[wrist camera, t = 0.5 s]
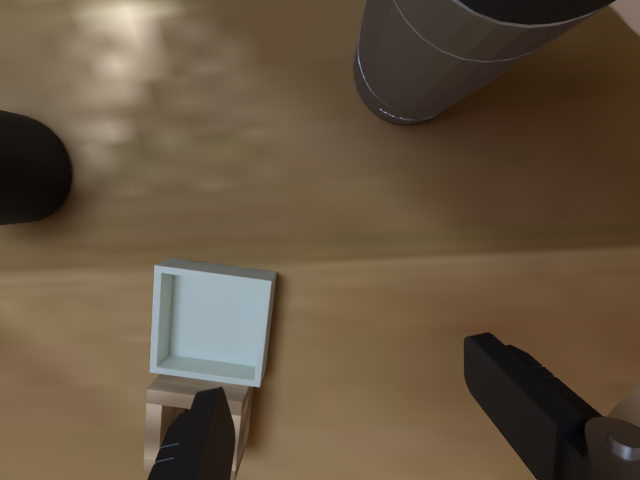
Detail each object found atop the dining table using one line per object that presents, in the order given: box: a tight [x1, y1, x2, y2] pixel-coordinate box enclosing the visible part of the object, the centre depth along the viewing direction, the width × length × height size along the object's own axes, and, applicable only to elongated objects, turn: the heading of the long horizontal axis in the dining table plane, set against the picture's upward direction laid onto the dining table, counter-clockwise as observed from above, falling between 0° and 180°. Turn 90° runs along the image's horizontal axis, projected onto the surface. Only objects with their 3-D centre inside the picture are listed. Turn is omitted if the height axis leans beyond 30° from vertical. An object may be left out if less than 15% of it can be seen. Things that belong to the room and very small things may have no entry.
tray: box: [150, 258, 277, 387], centre depth 29 cm, size 10×10×3 cm
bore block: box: [143, 374, 254, 480], centre depth 30 cm, size 8×8×5 cm
